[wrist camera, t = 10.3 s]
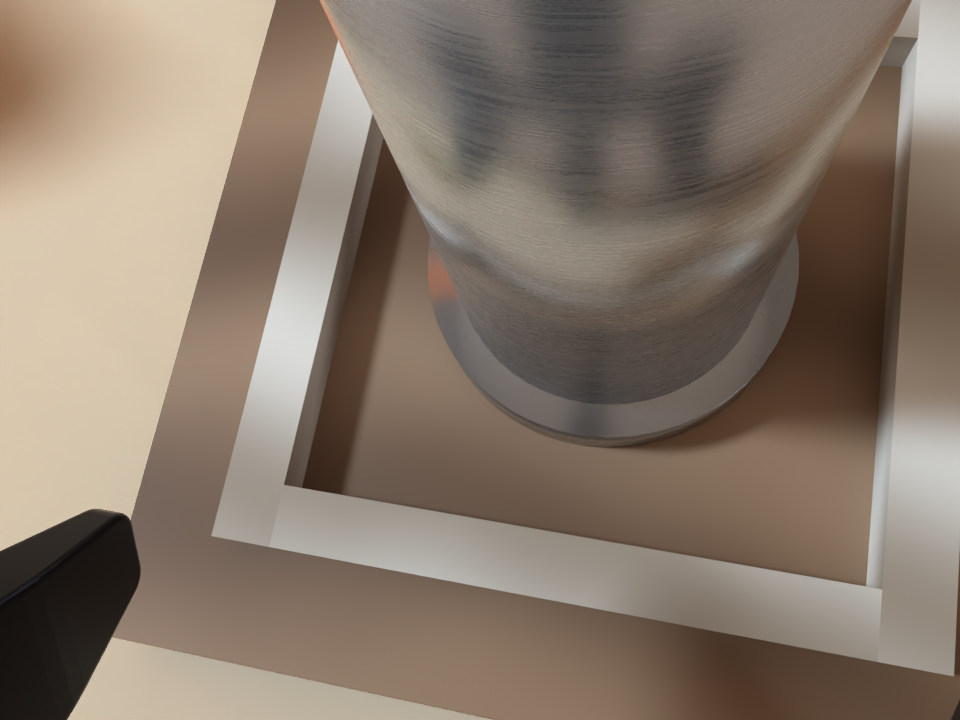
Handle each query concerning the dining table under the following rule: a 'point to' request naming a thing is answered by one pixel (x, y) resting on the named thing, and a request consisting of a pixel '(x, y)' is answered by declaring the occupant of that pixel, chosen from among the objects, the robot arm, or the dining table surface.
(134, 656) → the dining table surface
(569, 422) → the silver metal cup
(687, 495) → the bronze base
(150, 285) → the dining table surface
